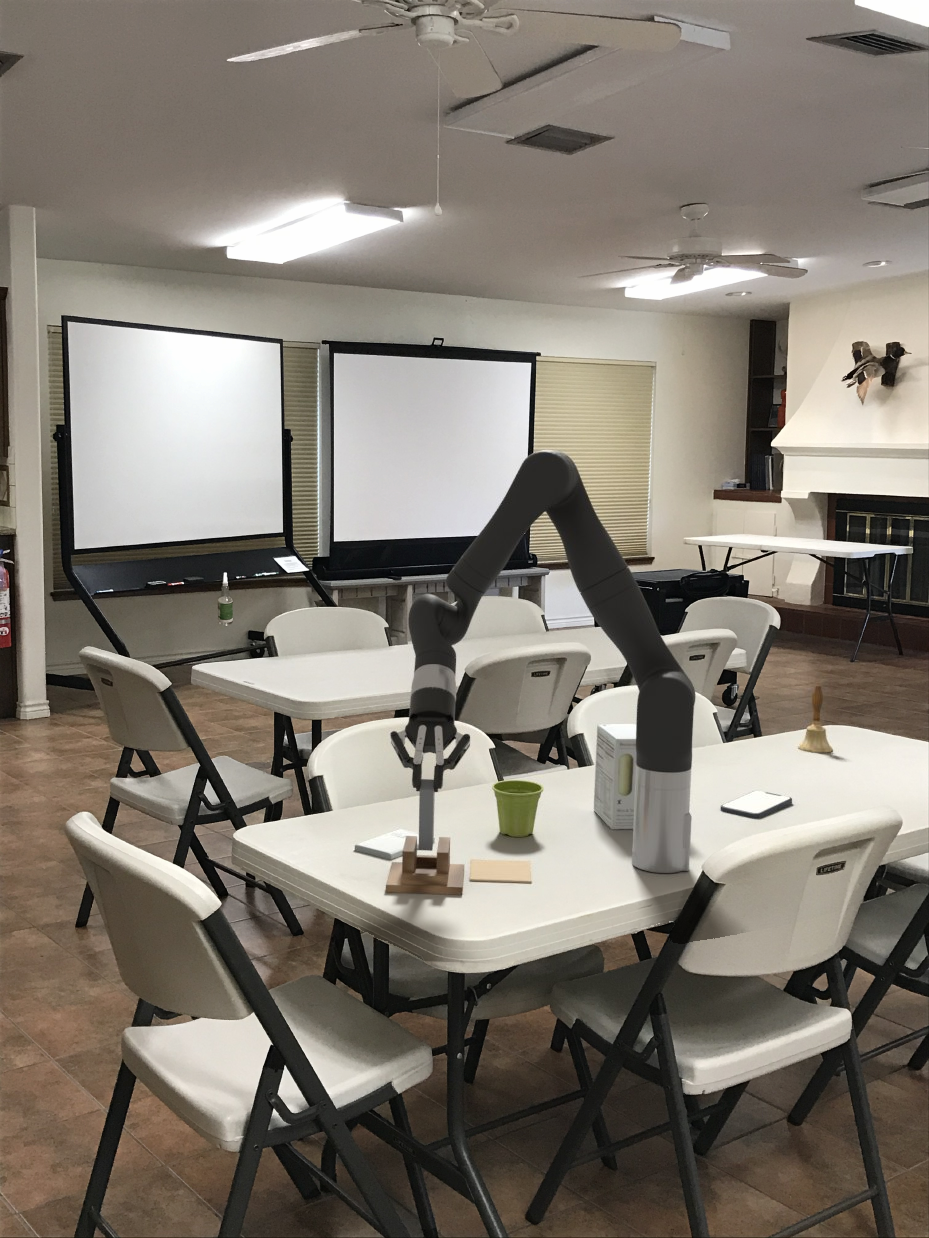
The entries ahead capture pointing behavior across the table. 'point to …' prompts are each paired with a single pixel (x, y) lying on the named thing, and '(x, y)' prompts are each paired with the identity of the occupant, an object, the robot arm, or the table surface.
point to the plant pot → (517, 806)
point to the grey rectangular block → (426, 815)
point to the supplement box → (615, 774)
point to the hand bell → (816, 728)
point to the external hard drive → (387, 844)
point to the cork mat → (500, 871)
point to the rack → (425, 871)
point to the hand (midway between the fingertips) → (427, 788)
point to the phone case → (756, 804)
